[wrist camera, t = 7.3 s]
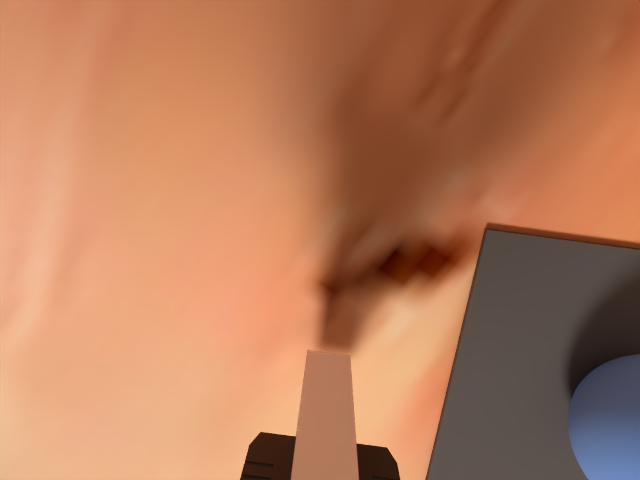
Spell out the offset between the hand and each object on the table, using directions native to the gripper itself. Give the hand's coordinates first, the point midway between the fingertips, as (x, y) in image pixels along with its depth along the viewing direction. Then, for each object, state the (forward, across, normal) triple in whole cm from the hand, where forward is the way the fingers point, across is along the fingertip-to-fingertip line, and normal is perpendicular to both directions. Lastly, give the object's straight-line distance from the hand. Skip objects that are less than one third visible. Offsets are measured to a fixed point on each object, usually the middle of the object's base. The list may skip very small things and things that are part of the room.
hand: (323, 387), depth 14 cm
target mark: (+2, -11, 0) cm, 11 cm away
